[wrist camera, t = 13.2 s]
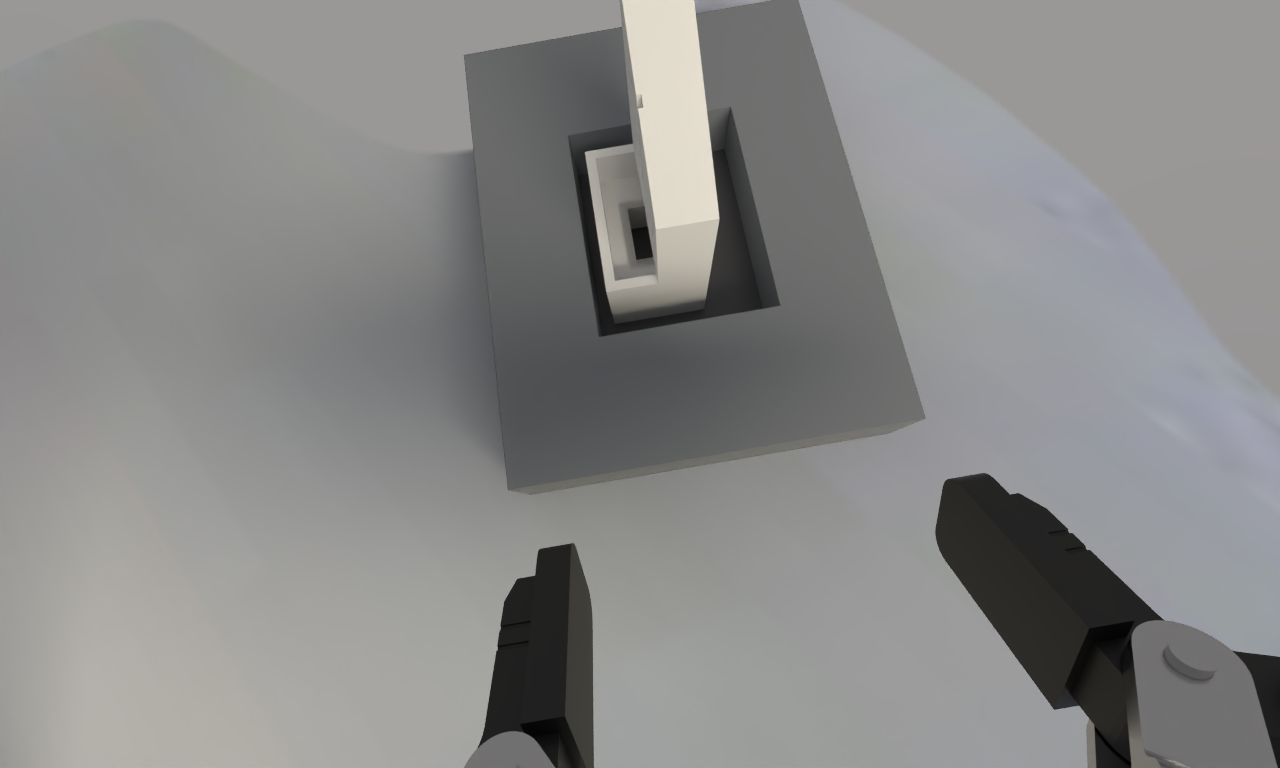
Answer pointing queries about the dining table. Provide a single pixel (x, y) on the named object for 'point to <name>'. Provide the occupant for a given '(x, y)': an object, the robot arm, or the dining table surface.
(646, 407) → the socket plate
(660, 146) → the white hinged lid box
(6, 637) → the dining table surface
